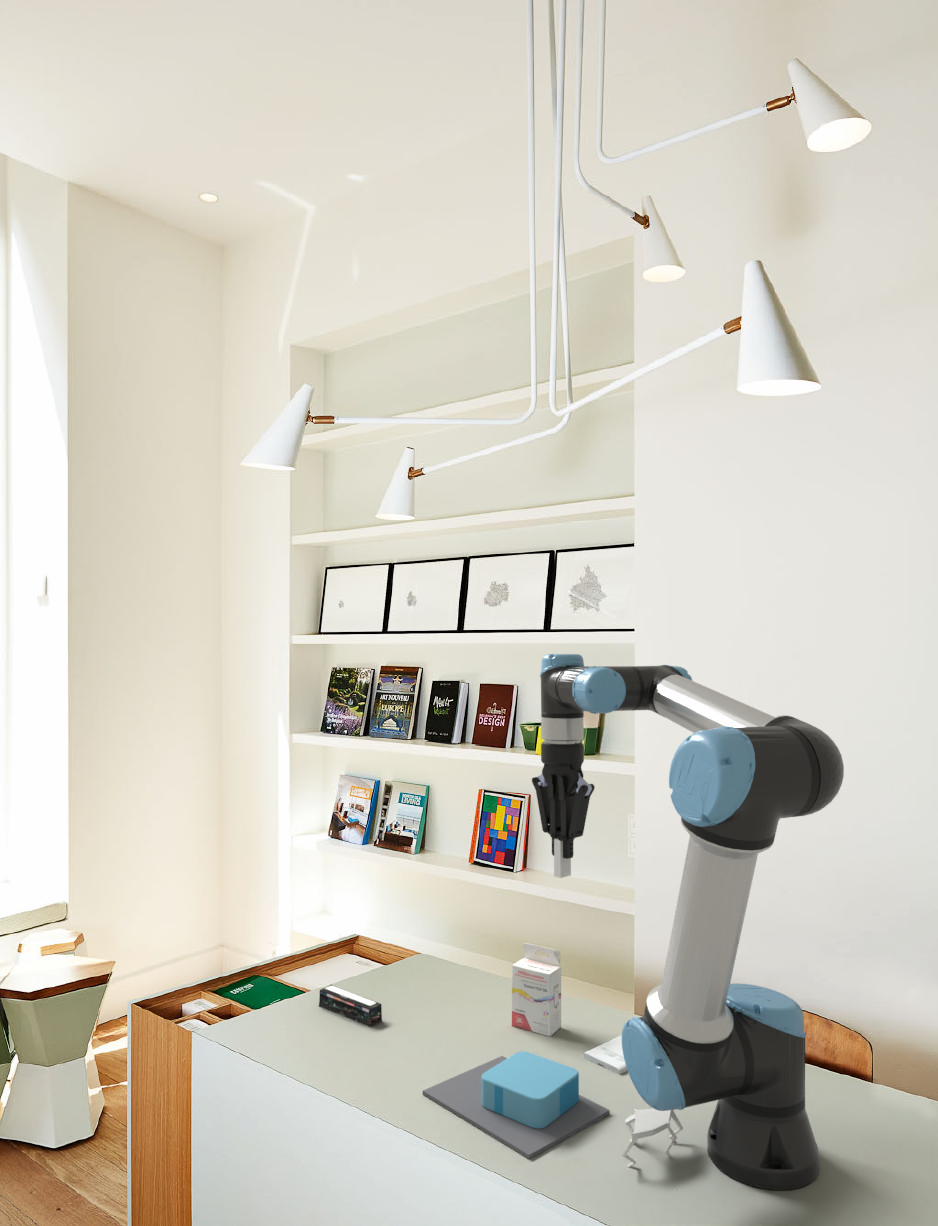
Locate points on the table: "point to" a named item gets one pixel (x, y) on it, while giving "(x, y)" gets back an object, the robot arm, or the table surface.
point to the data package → (530, 1089)
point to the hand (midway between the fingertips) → (562, 875)
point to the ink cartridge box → (537, 990)
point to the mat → (529, 1142)
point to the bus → (350, 1005)
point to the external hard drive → (608, 1055)
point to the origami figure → (650, 1127)
